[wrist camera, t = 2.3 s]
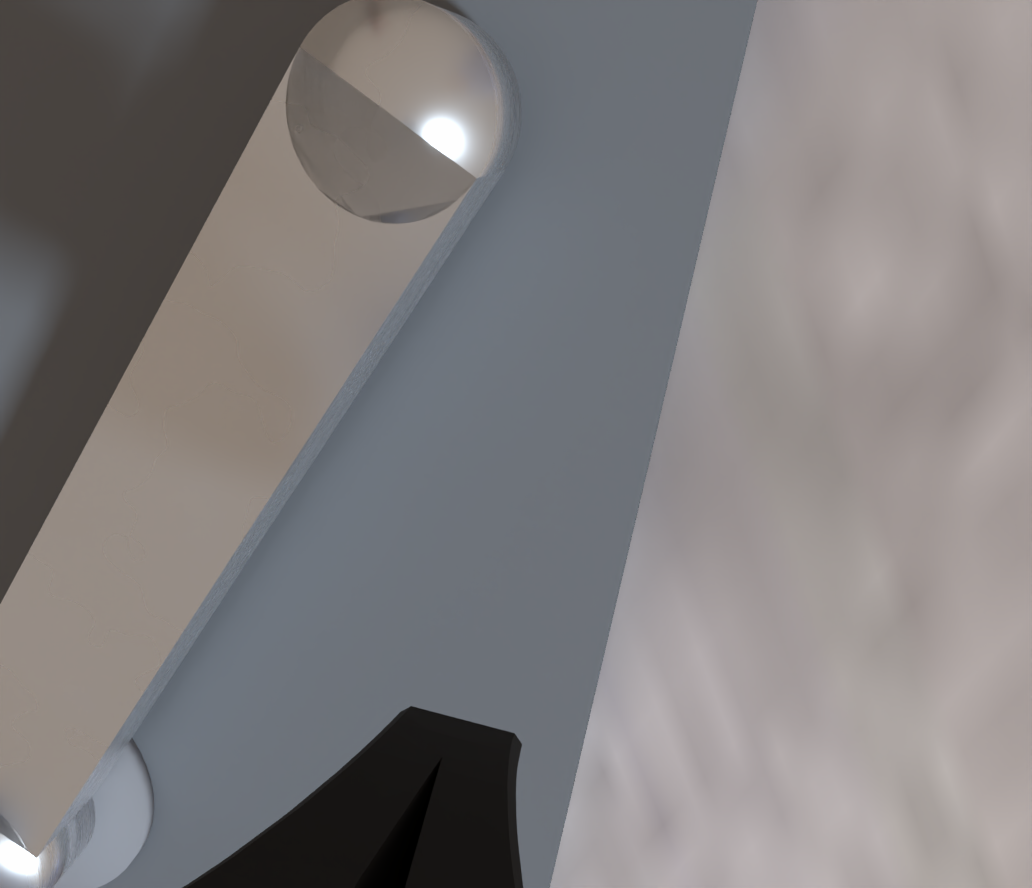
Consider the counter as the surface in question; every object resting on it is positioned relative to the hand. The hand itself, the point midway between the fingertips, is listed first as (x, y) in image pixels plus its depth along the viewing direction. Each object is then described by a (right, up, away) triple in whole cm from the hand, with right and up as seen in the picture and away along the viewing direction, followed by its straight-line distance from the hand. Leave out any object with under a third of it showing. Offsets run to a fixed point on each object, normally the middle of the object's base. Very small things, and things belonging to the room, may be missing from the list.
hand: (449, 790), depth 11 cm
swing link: (-6, +2, +7) cm, 10 cm away
